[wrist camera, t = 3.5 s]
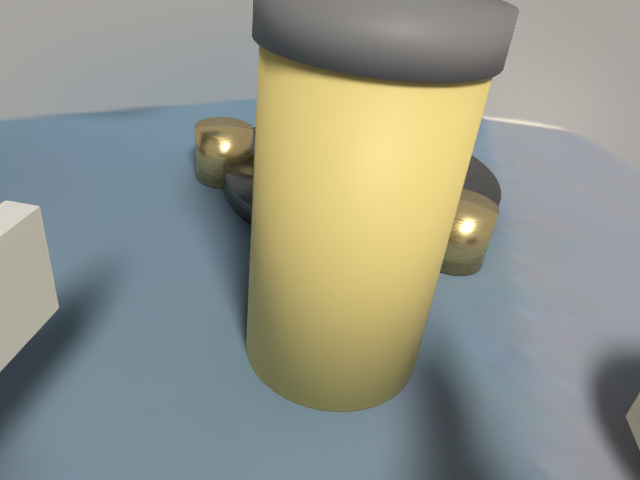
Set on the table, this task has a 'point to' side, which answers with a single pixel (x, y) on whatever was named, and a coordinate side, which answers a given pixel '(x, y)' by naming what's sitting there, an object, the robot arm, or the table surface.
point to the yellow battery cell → (359, 183)
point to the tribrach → (238, 172)
